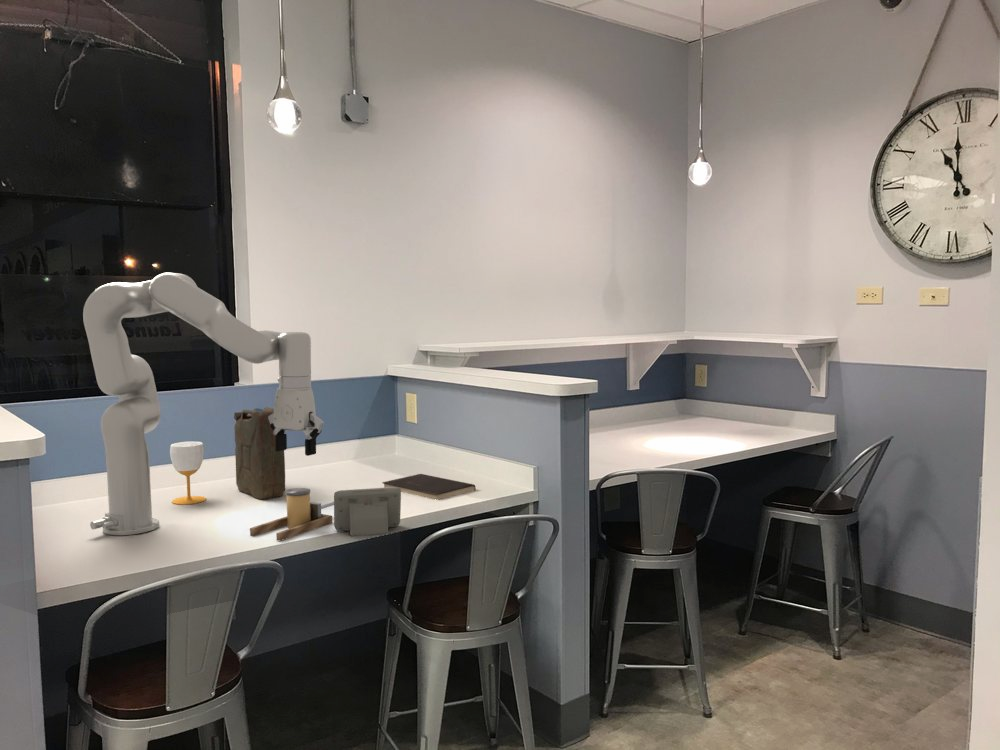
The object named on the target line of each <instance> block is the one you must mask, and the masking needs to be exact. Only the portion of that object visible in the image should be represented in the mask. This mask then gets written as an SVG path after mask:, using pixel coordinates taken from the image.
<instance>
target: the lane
mask: <svg viewBox="0 0 1000 750" xmlns="http://www.w3.org/2000/svg"><path fill="white" fill-rule="evenodd" d="M332 523H333V515H331V514H324V513H321V518H319V519H316V520H313V521H311V522H308V523H305V524H302V525H299V526H296V527H293V528H290V529H288V528H287V529H285V530H284V529H283V530H281V531H278V532H276V533H275V534H276V541H277V540H282V539H285V540H287V539H286V538H288V539H290V538H293V537H295V535H296V536H299V535H301V533H302V534H304V532H305V533H307V532H309V531H313V530H315V529H318V528H322V527H325V526H327V525H330V524H332ZM285 526H288V525H287V515H286V516H283V517H280V518H277V519H274V520H272V521H268V522H265V523H261V524H259V525H256V526H252V527H250V528H249V536H252V537H255V536H257V535H260V534H261V535H262V534H263V533H267V532H270V531H273V530H276V529H278V528H281V527H285ZM298 534H299V535H298ZM292 536H293V537H292ZM289 537H290V538H289ZM282 541H283V540H282Z"/></svg>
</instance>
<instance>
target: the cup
mask: <svg viewBox="0 0 1000 750" xmlns="http://www.w3.org/2000/svg"><path fill="white" fill-rule="evenodd" d="M204 452H205V449H204V443H203V442H202V441H181V442H175V443H172V444H170V448H169V457H170V460H171V463H172V466H173V468H174V469H175V471H176V472H177V473H179V474H180V475H184V476H185V477H186V496H181V497H177V498H174V499H172V501H171V503H172V504H173V505H177V506H179V505H180V506H181V505H182V506H185V505H186V506H187V505H195V504H199V503H203V502H205V501H206V500H207V497H205V496H201V495H191V478H190V477H191V476H192V475H194V474H195V473H197V471H199V469H200V468H201V467H202V464H203V461H204V456H205V454H204Z"/></svg>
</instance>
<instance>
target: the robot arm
mask: <svg viewBox="0 0 1000 750" xmlns="http://www.w3.org/2000/svg"><path fill="white" fill-rule="evenodd" d="M168 312H169V313H170V314H172V315H174V316H176V317H178V318H180V319H181V320H183V321H184V322H186V323H188V324H189V325H191V326H193V327H195V328H196V329H198V330H200V331H201V332H202V333H204V334H205V335H206V336H207V337H208V338H209V339H211V340H212V341H213V342H215V343H216V344H217V345H219V346H220V347H222V348H223V349H225V350H227V351H228V352H229V353H232V354H233V355H235V356H237V357H238V358H240V359H242V360H243V361H245V362H248V363H251V364H257V365H258V364H263V363H266V362H271V361H278V378H277V382H278V387H276V392H275V396H274V403H273V408H274V413H273V414H271V415H269V416H268V419H269V422H270V424H271V425H270V426H271V428H272V430H273V434H274V435H275V439H276V451H283V450H284V451H286V450H287V449H288V448H287V447H288V444H287V440H288V438H287V433H286V431H293V432H303V434H304V436H305V437H306V438H305V440H304V454H305V456H307V457H308V456H312V455H316V454H317V439H318V438H319V436H320V434H321V433H322V429H323V427H324V425H325V421H324V420H323V419H322V418H320V417H319V416H318V415H316V414H317V413H316V402H315V401H316V400H315V396H314V391H313V388H312V345H311V344H312V342H311V341H312V339H311V336H310V334H309V333H307V332H302V331H288V332H287V331H286V332H285V331H284V332H280V331H279V332H278V331H273V330H256V329H254V328H252V327H251V326H249V325H247V324H246V323H244V322H242V321H241V320H239V319H238V318H236V317H235V316H234V315H233V314H232V313H230V312H229V310H228V308H227V307H226V304H225V303H224V302H223V301H222V300H220V299H218V298H216V297H215V296H213V295H212V294H210V293H208V292H206V291H205V290H204V289H201V288H200V287H198V285H197V284H196V282H195V280H193V279H192V277H190V276H189V275H187V274H183V273H178V272H163V273H160V274H158V275H156V276H155V277H154V278H153V279H151V280H150V279H149V280H146V281H141V282H121V281H117V282H116V281H115V282H114V281H113V282H110V283H106V284H103V285H101V286H99V287H97V288H95V290H94V291H92V293H90V295H89V296H88V298H87V299H86V301H85V303H84V305H83V312H82V317H83V326H84V329H85V332H86V337H87V340H88V345H89V351H90V352H89V353H90V355H91V362H92V364H93V369H94V374H95V378H96V382H97V383H96V384H97V385H98V388H99V389H100V390H101V392H103V394H106V395H109V396H112V397H117V396H118V399H119V401H117V402H115V403H112V404H110V405H109V406H108V407H107V408H106V409H105V411H104V412H103V414H102V415H101V418H100V419H101V420H100V429H101V430H100V431H101V436H102V439H103V443H104V451H105V459H106V460H105V463H106V475H107V476H106V477H107V479H106V480H107V495H108V496H107V498H108V512H106V513H104V517H103V518H102V519H96V520H93V521H91V522H90V524H89V526H90V528H91V530H93V531H94V530H97V529H101V528H102V532H103V533H104V534H106V535H109V536H110V535H112V536H129V535H137V534H143V533H148V532H151V531H153V530H155V529H157V528H158V527H159V526H160V520H158V519H157V518H155V517H153V509H152V488H151V487H152V486H151V469H150V468H151V466H150V454H149V453H150V452H149V447H148V443H147V440H146V436H145V434H147V433H150V432H152V431H153V430H155V429H156V428H157V426H158V425H159V423H160V422H161V417H162V415H161V413H162V412H161V410H162V409H161V406H160V405H161V404H160V400H159V396H158V392H157V387H156V383H155V376H154V373H153V370H152V368H151V367H150V364H149V363H148V362H147V361H146V359H144V358H143V357H141V356H139V355H136V354H132V353H131V349H130V348H131V347H130V345H129V339H128V336H127V333H126V331H125V329H124V327H123V325H122V320H124V319H126V318H127V319H129V318H130V319H131V318H142V317H147V316H151V315H152V316H153V315H157V314H162V313H168Z"/></svg>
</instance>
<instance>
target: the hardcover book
mask: <svg viewBox="0 0 1000 750" xmlns="http://www.w3.org/2000/svg"><path fill="white" fill-rule="evenodd" d="M381 484H383V488H387V487H397V488H400V489H401V493H406V494H410V495H414V496H417V495H418V497H421V498H422V497H423V498H426V497H427V498H428V499H432V500H435V499H436V500H437V499H438V500H441V498H442V499H445V497H446V498H449V496H450V497H454V496H457V495H460V494H465V493H468V491H469V492H472V490H473V491H476V485H475V484H473V483H468V482H464V481H459V480H454V479H448V478H443V477H440V476H439V477H438V476H434V475H430V474H429V475H428V474H423V473H417V474H414V475H409V476H403V477H400V478H396V479H391V480H387V481H386V480H385V481H382V482H381ZM453 495H454V496H453Z"/></svg>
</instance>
